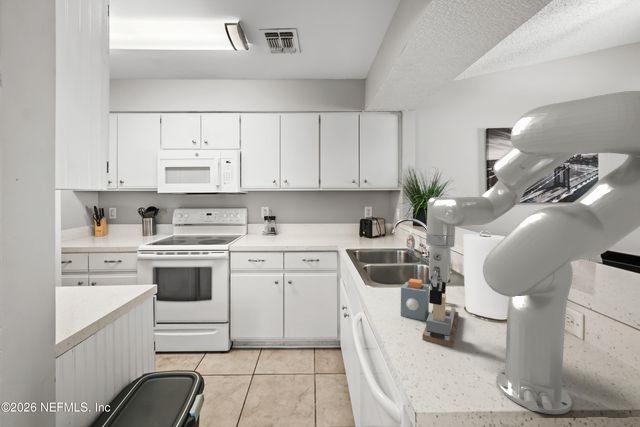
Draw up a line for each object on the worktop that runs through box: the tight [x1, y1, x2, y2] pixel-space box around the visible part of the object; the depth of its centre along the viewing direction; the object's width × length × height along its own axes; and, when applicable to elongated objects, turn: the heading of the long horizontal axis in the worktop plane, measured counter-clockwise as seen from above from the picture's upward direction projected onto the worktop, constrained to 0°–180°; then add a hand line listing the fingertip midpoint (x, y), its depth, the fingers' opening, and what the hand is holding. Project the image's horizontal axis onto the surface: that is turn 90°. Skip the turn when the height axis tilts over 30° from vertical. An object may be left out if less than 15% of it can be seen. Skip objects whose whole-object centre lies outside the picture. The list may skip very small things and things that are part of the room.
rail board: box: [422, 307, 459, 348], centre depth 90 cm, size 23×8×3 cm, turn 150°
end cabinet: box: [400, 281, 430, 321], centre depth 99 cm, size 8×8×10 cm
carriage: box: [425, 293, 451, 335], centre depth 82 cm, size 6×6×10 cm
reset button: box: [407, 278, 423, 289], centre depth 99 cm, size 4×4×3 cm
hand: (437, 298), depth 82 cm, fingers open, 9 cm apart
